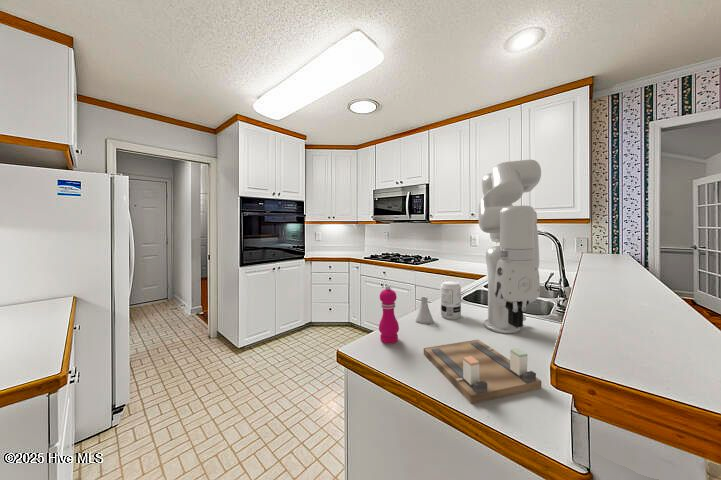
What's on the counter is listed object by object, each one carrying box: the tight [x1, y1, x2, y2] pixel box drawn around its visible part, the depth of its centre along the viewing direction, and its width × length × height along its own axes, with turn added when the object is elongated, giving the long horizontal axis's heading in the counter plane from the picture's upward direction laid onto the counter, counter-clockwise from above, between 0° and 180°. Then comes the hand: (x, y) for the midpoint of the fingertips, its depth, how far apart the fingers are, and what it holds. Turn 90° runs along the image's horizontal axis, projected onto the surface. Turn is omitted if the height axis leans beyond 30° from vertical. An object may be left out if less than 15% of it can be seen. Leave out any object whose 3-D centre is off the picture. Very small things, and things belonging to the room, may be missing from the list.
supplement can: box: [440, 280, 462, 320], centre depth 117 cm, size 8×8×15 cm
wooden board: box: [423, 339, 542, 404], centre depth 76 cm, size 24×20×4 cm
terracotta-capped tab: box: [463, 356, 479, 385], centre depth 67 cm, size 3×2×5 cm
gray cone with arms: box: [415, 296, 434, 325], centre depth 113 cm, size 7×7×10 cm
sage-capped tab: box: [509, 348, 528, 376], centre depth 70 cm, size 3×2×5 cm
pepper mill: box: [378, 284, 400, 345], centre depth 96 cm, size 7×7×20 cm
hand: (515, 325), depth 70 cm, fingers closed
